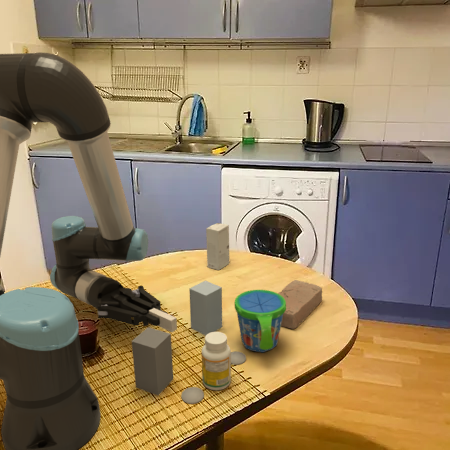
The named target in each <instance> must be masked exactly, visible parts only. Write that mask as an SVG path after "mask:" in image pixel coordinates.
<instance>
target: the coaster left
mask: <svg viewBox="0 0 450 450" xmlns="http://www.w3.org/2000/svg"><path fill="white" fill-rule="evenodd" d="M204 394H205V393H204V391H203V389H201V388H200V387H197V386H192V387H187V388H185V389H183V391H182V392H181V396H180V397H181V400H182V401H183V402H184V403H186V404H189V405H192V404H193V405H195V404H199V403H200V402H201V401H203V399H204V396H205V395H204Z"/></svg>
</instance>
